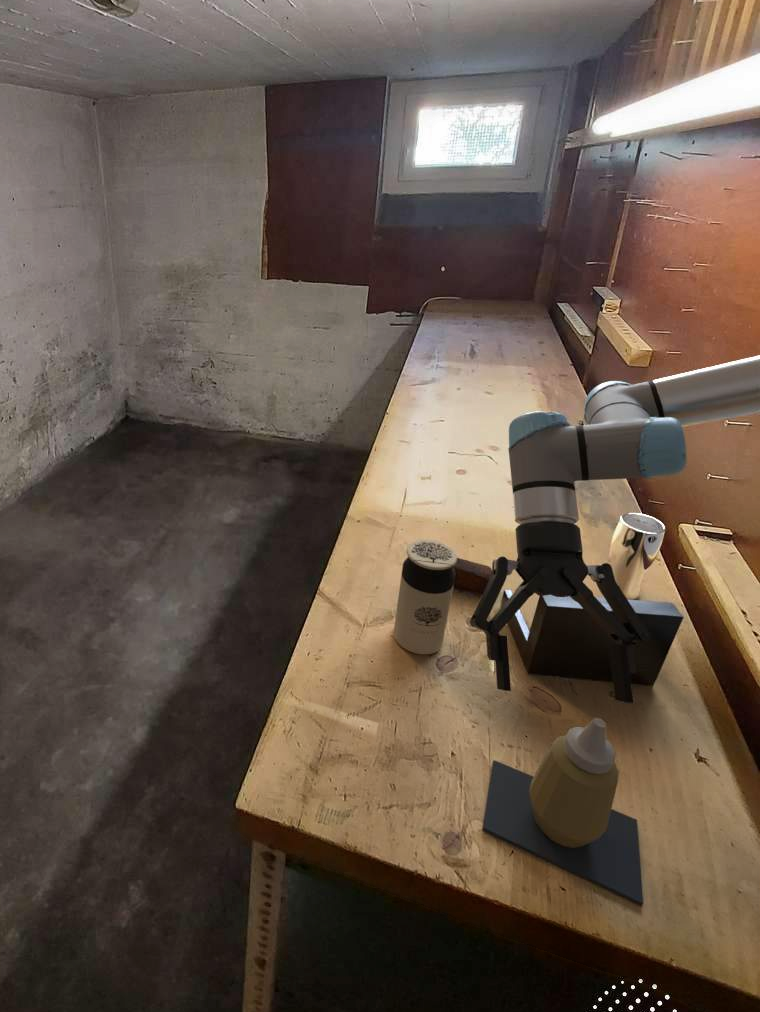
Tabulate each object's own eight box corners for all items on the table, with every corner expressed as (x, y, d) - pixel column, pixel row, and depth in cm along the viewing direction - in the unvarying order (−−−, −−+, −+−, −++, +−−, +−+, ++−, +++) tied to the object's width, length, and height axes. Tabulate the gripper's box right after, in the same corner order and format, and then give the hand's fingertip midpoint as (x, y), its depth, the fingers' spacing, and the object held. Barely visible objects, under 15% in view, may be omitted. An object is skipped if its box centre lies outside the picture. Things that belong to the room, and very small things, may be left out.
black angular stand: (499, 606, 102) (515, 543, 96) (607, 615, 99) (630, 550, 93) (527, 674, 88) (547, 606, 82) (653, 686, 86) (684, 617, 79)
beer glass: (648, 592, 104) (674, 524, 97) (630, 607, 101) (656, 539, 94) (607, 572, 109) (630, 507, 103) (589, 586, 106) (611, 520, 99)
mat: (635, 822, 68) (637, 819, 68) (641, 906, 61) (643, 903, 60) (492, 762, 76) (493, 759, 75) (482, 830, 68) (483, 827, 68)
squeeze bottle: (511, 789, 72) (542, 691, 64) (576, 790, 71) (615, 691, 63) (542, 859, 64) (581, 757, 56) (614, 860, 64) (664, 758, 56)
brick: (430, 581, 109) (433, 562, 107) (433, 570, 112) (437, 551, 110) (489, 599, 104) (494, 579, 102) (491, 586, 107) (496, 566, 105)
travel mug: (396, 616, 101) (407, 534, 93) (443, 628, 98) (459, 543, 90) (390, 648, 94) (402, 562, 86) (440, 661, 91) (458, 573, 83)
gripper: (633, 535, 77) (658, 703, 70) (442, 524, 81) (448, 683, 74) (666, 524, 70) (697, 710, 63) (455, 513, 74) (464, 687, 67)
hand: (563, 696), depth 69 cm, fingers open, 13 cm apart
